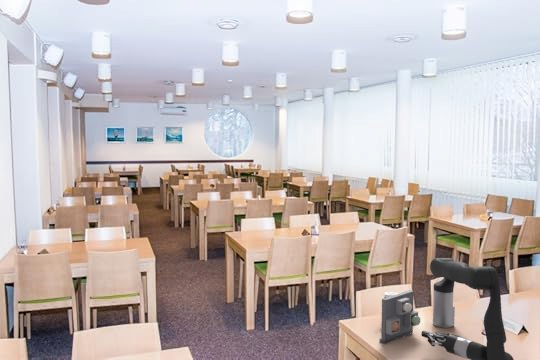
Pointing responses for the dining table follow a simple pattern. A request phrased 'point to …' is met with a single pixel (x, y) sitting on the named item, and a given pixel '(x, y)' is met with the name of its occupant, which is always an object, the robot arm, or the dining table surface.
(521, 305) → the dining table surface
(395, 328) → the terracotta button
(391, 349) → the dining table surface
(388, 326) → the button panel
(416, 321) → the sage button
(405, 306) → the cream button
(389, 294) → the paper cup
